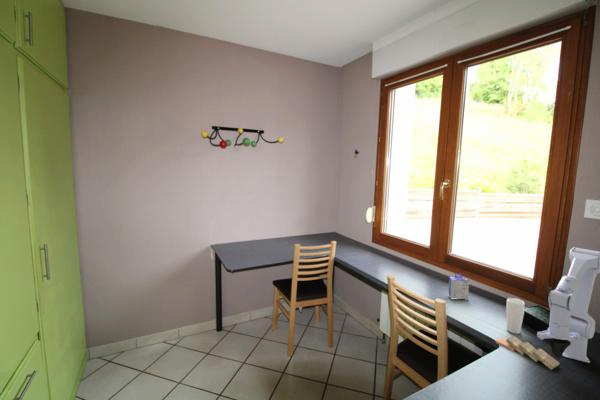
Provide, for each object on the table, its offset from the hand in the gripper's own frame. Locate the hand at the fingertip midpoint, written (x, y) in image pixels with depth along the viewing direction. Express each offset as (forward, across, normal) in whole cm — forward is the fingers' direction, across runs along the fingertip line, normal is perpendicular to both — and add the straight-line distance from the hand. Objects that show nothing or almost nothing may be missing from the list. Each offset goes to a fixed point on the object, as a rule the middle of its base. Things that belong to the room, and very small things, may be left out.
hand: (556, 356), depth 109 cm
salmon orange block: (+5, +7, -11) cm, 14 cm away
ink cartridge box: (+5, +5, -61) cm, 61 cm away
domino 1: (+4, +4, -8) cm, 10 cm away
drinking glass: (+5, -2, -26) cm, 26 cm away
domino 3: (+4, 0, 0) cm, 4 cm away
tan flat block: (+4, +2, -4) cm, 6 cm away
